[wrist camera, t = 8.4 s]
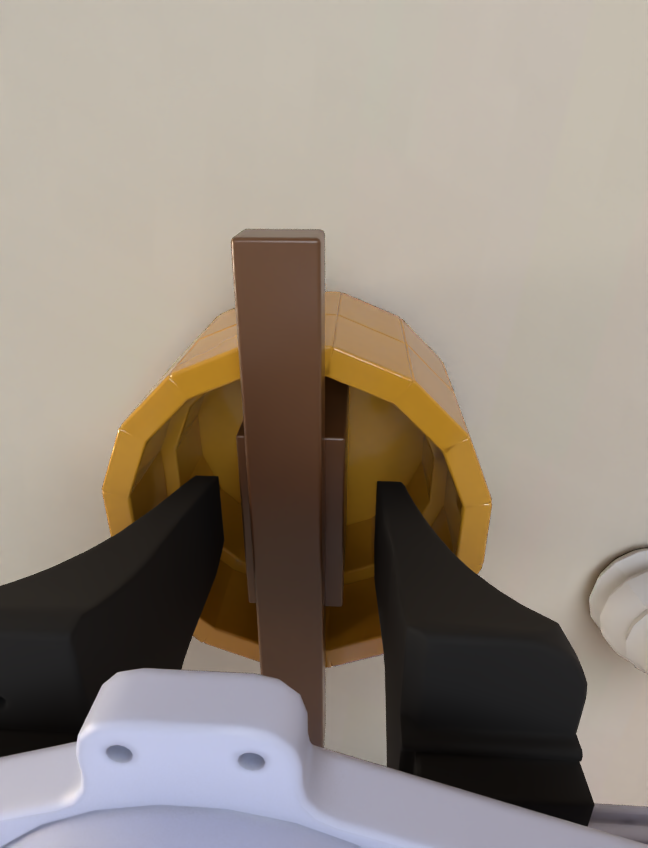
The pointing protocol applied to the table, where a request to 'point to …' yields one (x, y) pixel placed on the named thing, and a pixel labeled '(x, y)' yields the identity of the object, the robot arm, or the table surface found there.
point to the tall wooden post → (290, 456)
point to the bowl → (367, 463)
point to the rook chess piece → (624, 607)
